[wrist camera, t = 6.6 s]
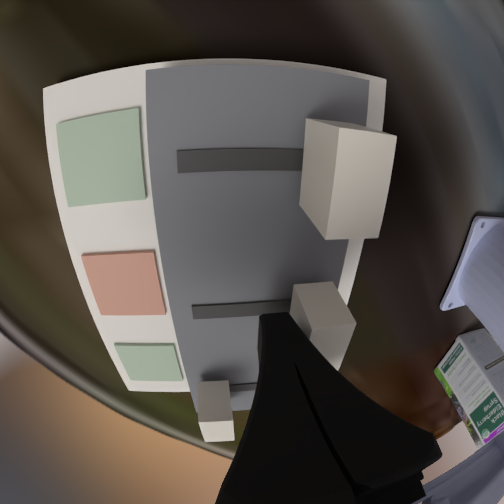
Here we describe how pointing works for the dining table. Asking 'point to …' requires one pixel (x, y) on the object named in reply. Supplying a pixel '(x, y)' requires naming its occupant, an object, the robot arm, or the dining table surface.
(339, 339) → the knob middle
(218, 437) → the knob far
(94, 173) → the switch unit
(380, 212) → the knob near
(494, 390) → the syrup box
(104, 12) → the dining table surface
